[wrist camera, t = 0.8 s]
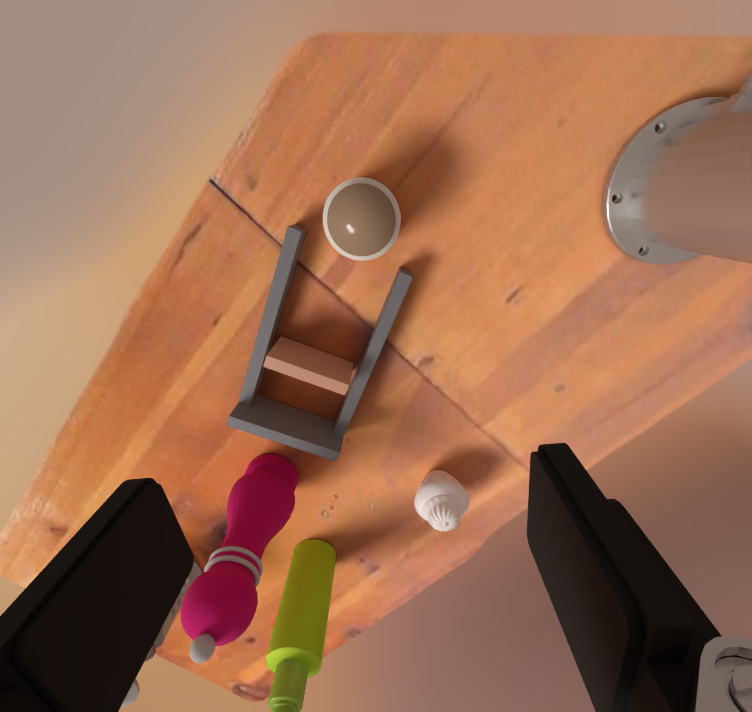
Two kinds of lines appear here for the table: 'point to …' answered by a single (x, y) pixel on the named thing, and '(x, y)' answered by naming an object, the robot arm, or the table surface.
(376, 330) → the frame
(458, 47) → the table surface
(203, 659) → the pepper mill
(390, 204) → the jar
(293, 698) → the soap dispenser
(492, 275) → the table surface
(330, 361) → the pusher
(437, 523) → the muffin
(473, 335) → the table surface
